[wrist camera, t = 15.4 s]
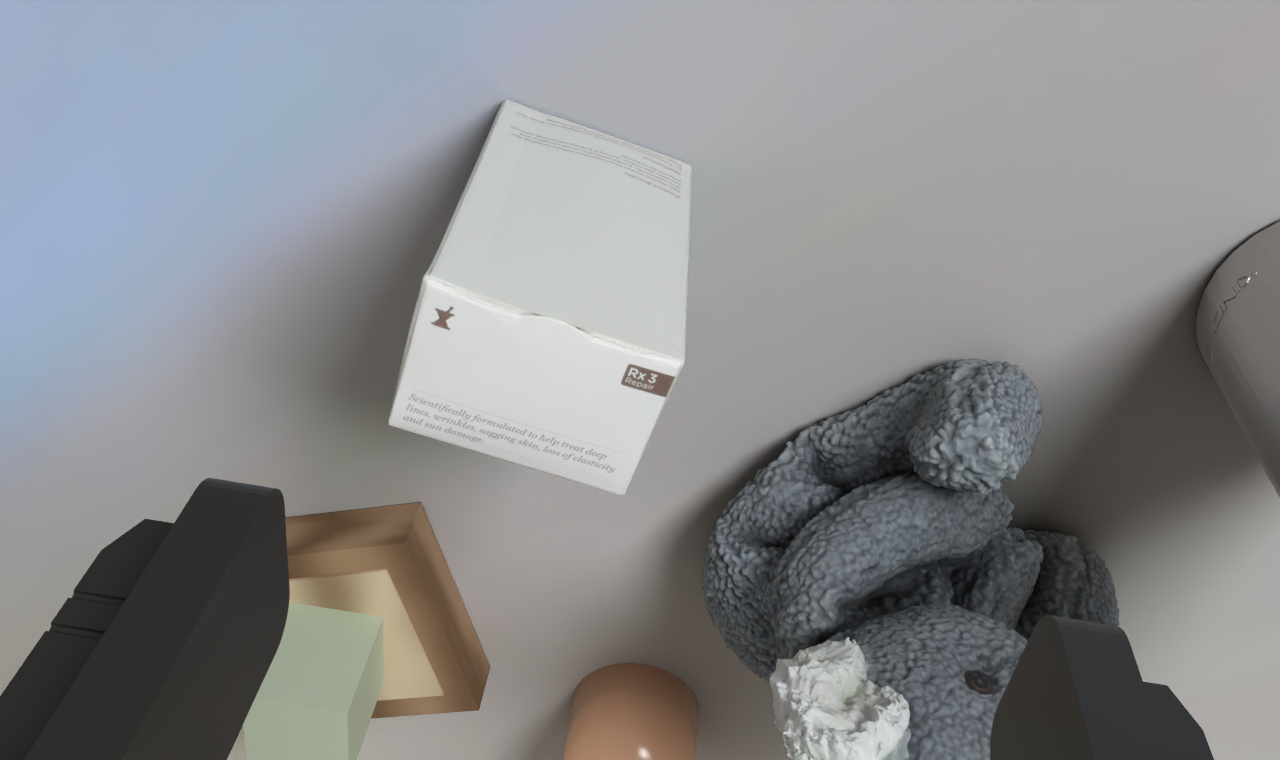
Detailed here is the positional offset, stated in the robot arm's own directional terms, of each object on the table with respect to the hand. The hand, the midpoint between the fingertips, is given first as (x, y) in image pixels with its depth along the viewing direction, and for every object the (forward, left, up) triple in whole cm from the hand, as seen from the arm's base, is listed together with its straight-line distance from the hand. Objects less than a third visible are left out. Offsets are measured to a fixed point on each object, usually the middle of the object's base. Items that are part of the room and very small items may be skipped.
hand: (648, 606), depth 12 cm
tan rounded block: (-2, +43, -34) cm, 55 cm away
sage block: (+14, +38, -31) cm, 51 cm away
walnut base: (+14, +38, -34) cm, 53 cm away
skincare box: (+4, +12, -34) cm, 37 cm away
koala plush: (-12, +27, -34) cm, 45 cm away
